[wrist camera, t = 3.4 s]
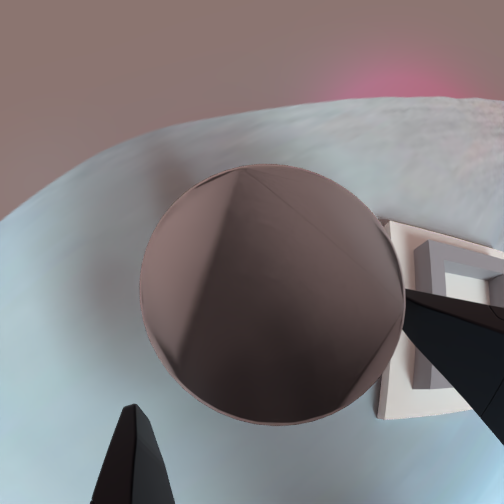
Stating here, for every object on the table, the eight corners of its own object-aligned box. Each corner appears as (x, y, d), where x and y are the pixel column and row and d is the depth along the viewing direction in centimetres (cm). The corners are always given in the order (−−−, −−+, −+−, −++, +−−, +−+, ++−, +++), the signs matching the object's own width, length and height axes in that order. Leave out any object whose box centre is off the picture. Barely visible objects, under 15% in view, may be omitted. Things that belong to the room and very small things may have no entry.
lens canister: (298, 321, 19) (425, 234, 7) (258, 402, 17) (347, 462, 5) (218, 280, 19) (226, 131, 7) (173, 359, 17) (88, 334, 5)
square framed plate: (501, 401, 18) (525, 400, 15) (376, 418, 17) (401, 423, 14) (496, 255, 23) (517, 244, 20) (383, 226, 22) (403, 207, 19)
